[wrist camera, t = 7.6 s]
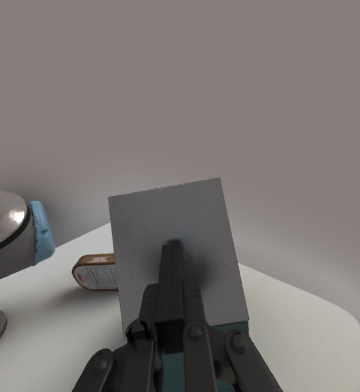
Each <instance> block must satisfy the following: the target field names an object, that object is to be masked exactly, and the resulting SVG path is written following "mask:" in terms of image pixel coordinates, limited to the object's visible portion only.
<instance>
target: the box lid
mask: <svg viewBox="0 0 360 392" xmlns="http://www.w3.org/2000/svg"><path fill="white" fill-rule="evenodd" d="M108 201H109V211H110V220H111V229H112V238H113V247H114V255H115V264H116V273H117V282H118V291H119V300H120V309H121V317H122V326H123V335H124V339H127V337H126V335H125V331H126V329H127V327H128V326H129V324H130V323H131V322H132V321H134V320H135V319H138V318H139V313H140V308H141V303H142V298H143V293H144V290H145V288H146V287H147V285H148V284H154V283H158V281H159V272H160V263H161V254H162V245H166V244H172V243H178V242H179V244H180V249H181V254H182V259H183V264H184V272H185V278H189V277H195V276H196V278H197V279H198V281H199V283H200V288H201V294H202V300H203V306H204V311H205V317H206V321H207V322H208V324H209V325H210V326H215V325H221V324H228V323H234V322H240V321H247V320H249V316H248V311H247V306H246V301H245V296H244V291H243V287H242V282H241V277H240V272H239V267H238V262H237V258H236V253H235V248H234V243H233V238H232V233H231V229H230V224H229V219H228V214H227V209H226V204H225V200H224V195H223V190H222V185H221V180H220V178H213V179H207V180H202V181H196V182H191V183H185V184H179V185H173V186H168V187H162V188H156V189H150V190H145V191H140V192H133V193H128V194H122V195H116V196H111V197H108Z"/></svg>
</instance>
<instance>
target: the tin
mask: <svg viewBox="0 0 360 392" xmlns="http://www.w3.org/2000/svg"><path fill="white" fill-rule="evenodd" d="M72 274H73V277H74V278H75V280H76V281H77V283H78V284H79V285H81V286H82V287H84V288H87V289H90V290H118V282H117V273H116V264H115V255H114V253H111V254H93V255H85V256H82V257H81V258H80V259H79V261H78V262H77V263H76V264H75V266H74V267H73V269H72Z"/></svg>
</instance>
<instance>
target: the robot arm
mask: <svg viewBox="0 0 360 392" xmlns="http://www.w3.org/2000/svg"><path fill="white" fill-rule="evenodd" d="M54 252H55V245H54V240H53V236H52V233H51V230H50V226H49V223H48V220H47V217H46V214H45V211H44V209H43V206H42V204H41V203H40V202H39V201H28V202H27V203H26V202H25V201H24V200H23V199H22V198H21V197H20V196H18V195H17V194H14V193H12V192H8V191H1V190H0V279H2V278H4V277H7V276H9V275H11V274H14V273H16V272H18V271H21V270H23V269H26V268H28V267H30V266H35V265H36V264H37V263H39V262H41V261H43V260H45V259H47V258H49V257H51V256H52V255H53V254H54ZM7 321H8V320H7V317H6V315H5V314H4V313H3V312H2V311H1V310H0V338H1V337H2V335H3V333H4V331H5V329H6V326H7ZM125 335H126V337H127V340H128V343H127V344H125V345H124V346H122V347H120V348H118V349H116V350H115V351H113V352H111V350H109V349H102V350H100V351H98V352H96V353H95V354H94V355H93V356H92V357H91V359H90V360H89V362H88V363H87V365H86V367H85V369H84V371H83V372H82V374H81V376H80V378H79V380H78V381H77V383H76V385H75V387H74V389H73V390H72V392H163V381H164V365H163V361H162V356H163V352H164V355H168V354H175V353H182V352H184V376H185V392H218V387H217V381H216V379H218V380H221V381H224V382H227V383H230V384H231V386H232V388H233V390H234V392H283V391H282V389H281V388H280V386H279V384H278V383H277V381H276V379H275V378H274V376H273V374H272V373H271V371H270V370H269V368H268V366H267V365H266V363H265V361H264V360H263V358H262V356H261V355H260V353H259V352H258V350H257V348H256V347H255V345H254V343H253V342H252V340H251V338H250V337H249V336H248V335H247V333H246V332H244V331H242V330H241V329H236V328H235V329H230V330H229V331H228V332H227V333H225V332H221V331H217V330H215V329H213V328H212V327H211V326H210V325H209V324H208V322H207V321H206V317H205V311H204V306H203V300H202V294H201V288H200V283H199V281H198V279H197V278H196V276H195V277H189V278H185V272H184V264H183V259H182V254H181V249H180V244H179V242H178V243H172V244H166V245H162V254H161V263H160V272H159V281H158V283H154V284H148V285H147V287H146V288H145V290H144V293H143V298H142V303H141V308H140V313H139V318H138V319H135V320H134V321H132V322H131V323H130V324H129V326H128V327H127V329H126V331H125Z"/></svg>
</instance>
